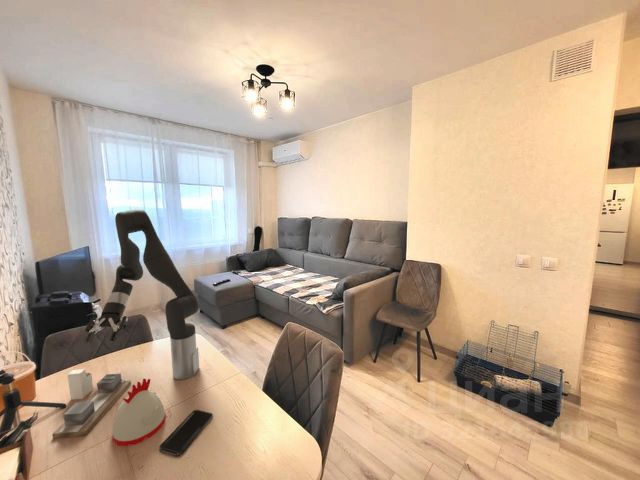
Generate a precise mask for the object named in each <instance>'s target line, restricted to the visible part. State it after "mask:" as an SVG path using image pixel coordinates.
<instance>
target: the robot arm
mask: <svg viewBox="0 0 640 480" xmlns="http://www.w3.org/2000/svg"><path fill="white" fill-rule="evenodd" d="M114 220H115V221H114V223H115V228H116V233H117V238H118V242H119V246H120V247H119V248H120V265H119V266H117V268H116V270H115V282H114V286H113V288H112V290H111V292H110V295H109V296H108V297H107V300H106V302H105V304H104V306H103V308H102V311H101V315H100V316H99V317H94V316H91V318H90V320H89V322H88V323H87V325H86V327H85V329H84V331H85V332H87V333H88V334H87V338H86V340H85V342H86V344H93V340H94V339H95V336H96V334H97V333H98V332H99V331H101V330H103V329H112V330H113V331H112V334H111V336H110V339H109V342H110V343H115V341H117V339H118V336H119V334H120V333H122V332H124V333H125V332H126V329H127V325H128V323H129V320H130V317H128V316H127V315H124V313H125V310H126V308H127V305H128V303H129V298H130V296H131V293H132V291H133V287H134V286H133V284H132V283H129V282H127V281H133V282H135V281H137V282H138V281H140V279H142V278H143V275H144V269H143V265H142V263H141V261H140V260H141V259H140V258H141V257H140V256H141V255H140V254H141V251H140V248H139V246H138V245H137V244H136V243H135V242H134V241H133V240H131V238H130V237H129V234H133V233H138V232H143V234H144V237H145V247H144V250H143V255H142V262H143V264H144V266H145V268H146V269H147V271H148V273H149V275H150V276H152V277H153V279H155V280H157V281H158V282H160V283H162V284H163V285H165V286H167V287H168V288H169V289H170V290H172V292H173V293H174V295H175V296H176V297H174V298H171V299H169V301H167V302H166V304H165V309H164V310H165V318H166V325H167V326H166V327H167V330H168V333H169V337H170V353H171V367H172V377H173V379H175V380H179V381H180V380H182V381H183V380H186V379H189V378H191V377H195V376H196V375H197V373H198V371H199V368H200V356H199V347H198V346H197V337H196V326H195V324H193V323H190V322H186V319H187V318H189V317H191V316H193V315H195V314H196V313H197V312H198V311H199V307H200V306H199V302H198V298H197V297H196V296H195V294H194V293H193V292H192V290H191V289H190V287H189V286H188V285H187V283H186V282H185V280H184V279H183V277H182V276H181V274H180V272H179V271H178V269H177V268H176V266H175V264H174V262H173V260H172V258H171V256H170V255H169V253H168V251H167V250H166V248H165V246H164V245H163V243H162V242H161V240H160V238H159V236H158V234H157V232H156V229H155V226H154V225H153V223H152V222H153V221H152V220H151V218H150V217H149V215H148V213H147V212H146V211H145V210H144V209H142V208H139V209H138V208H137V209H131V210H124V211H120V212H117V213H116V214H115V219H114ZM124 280H126V281H124ZM123 315H124V316H123ZM119 323H120V325H118V324H119Z"/></svg>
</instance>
